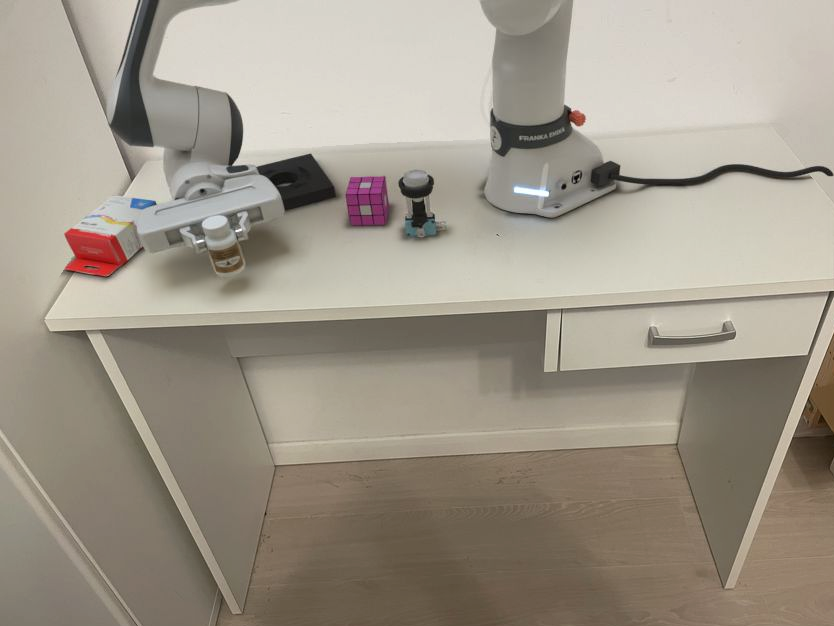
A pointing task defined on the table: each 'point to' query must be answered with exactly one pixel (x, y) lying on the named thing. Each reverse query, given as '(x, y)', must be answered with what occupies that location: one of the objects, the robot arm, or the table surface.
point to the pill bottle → (223, 246)
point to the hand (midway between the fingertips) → (222, 241)
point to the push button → (419, 204)
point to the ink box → (106, 236)
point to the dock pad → (299, 180)
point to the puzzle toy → (367, 200)
